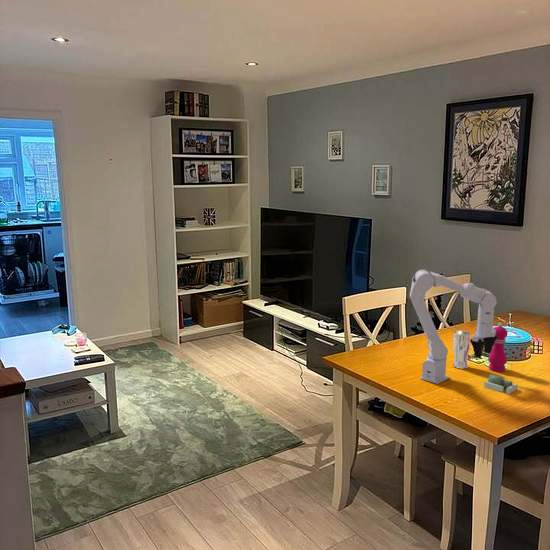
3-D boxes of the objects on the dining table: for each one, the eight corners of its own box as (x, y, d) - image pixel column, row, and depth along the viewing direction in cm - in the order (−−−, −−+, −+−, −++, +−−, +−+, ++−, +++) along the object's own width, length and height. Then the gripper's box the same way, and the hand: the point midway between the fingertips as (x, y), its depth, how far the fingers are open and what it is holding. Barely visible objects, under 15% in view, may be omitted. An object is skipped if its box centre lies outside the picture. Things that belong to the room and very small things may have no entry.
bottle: (487, 386, 210) (509, 391, 205) (488, 376, 209) (509, 380, 204) (491, 383, 213) (513, 388, 208) (492, 373, 212) (513, 377, 207)
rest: (508, 394, 203) (509, 389, 202) (484, 386, 210) (484, 382, 209) (517, 389, 207) (517, 384, 207) (493, 382, 214) (493, 377, 214)
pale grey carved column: (450, 367, 230) (451, 333, 227) (453, 362, 236) (455, 329, 233) (467, 370, 227) (469, 335, 224) (470, 365, 233) (472, 331, 230)
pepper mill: (505, 367, 230) (508, 321, 227) (507, 373, 223) (510, 326, 220) (486, 365, 232) (489, 320, 228) (488, 371, 225) (491, 325, 222)
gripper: (485, 327, 205) (483, 362, 207) (504, 320, 214) (501, 353, 217) (468, 323, 210) (466, 357, 213) (487, 317, 219) (484, 349, 222)
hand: (482, 355), depth 215 cm, fingers open, 7 cm apart
